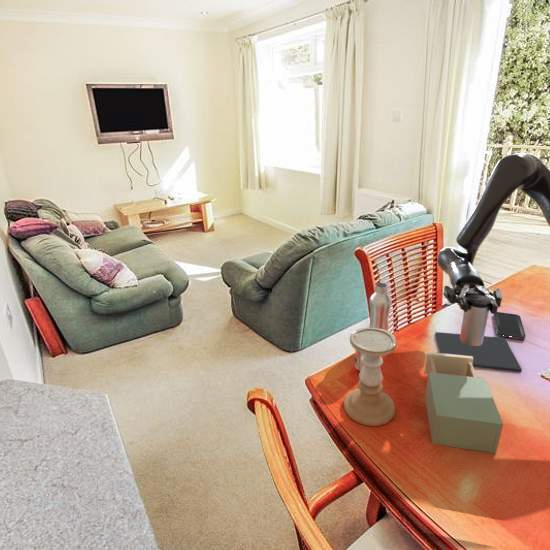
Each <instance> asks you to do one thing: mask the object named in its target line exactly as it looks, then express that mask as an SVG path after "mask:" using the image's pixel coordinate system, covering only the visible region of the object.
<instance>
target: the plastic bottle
mask: <svg viewBox="0 0 550 550" xmlns="http://www.w3.org/2000/svg"><path fill="white" fill-rule="evenodd" d="M391 307H392V298H391V296H390V295H389V285H388V284H387V283H385V282H376V283H375V285H374V292H373V293H372V294H371V296H370V297H369V312H370V319H369V327H371V328H379V329H383V330H386V331H388V332H390V329H389V317H390V311H391ZM369 327H368V328H369Z"/></svg>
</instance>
